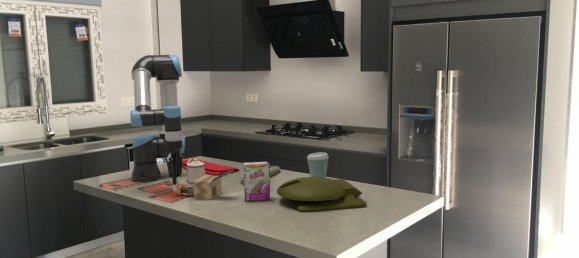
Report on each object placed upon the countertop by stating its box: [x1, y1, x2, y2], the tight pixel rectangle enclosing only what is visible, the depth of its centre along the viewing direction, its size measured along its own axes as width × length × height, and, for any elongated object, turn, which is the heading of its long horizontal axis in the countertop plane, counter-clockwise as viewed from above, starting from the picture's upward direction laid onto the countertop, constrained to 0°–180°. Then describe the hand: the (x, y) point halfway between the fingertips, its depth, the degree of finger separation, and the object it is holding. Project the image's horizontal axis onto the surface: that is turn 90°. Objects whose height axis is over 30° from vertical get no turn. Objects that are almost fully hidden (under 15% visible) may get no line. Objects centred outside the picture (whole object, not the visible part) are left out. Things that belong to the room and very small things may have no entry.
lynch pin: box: [176, 183, 194, 196], centre depth 221 cm, size 13×5×5 cm, turn 75°
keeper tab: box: [212, 170, 234, 181], centre depth 217 cm, size 9×6×1 cm
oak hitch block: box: [192, 174, 223, 201], centre depth 221 cm, size 8×12×8 cm, turn 165°
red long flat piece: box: [182, 158, 240, 176], centre depth 279 cm, size 16×41×4 cm, turn 48°
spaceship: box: [276, 176, 367, 213], centre depth 210 cm, size 35×31×10 cm
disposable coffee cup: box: [306, 151, 329, 178], centre depth 239 cm, size 11×11×15 cm
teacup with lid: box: [185, 158, 206, 184], centre depth 250 cm, size 12×9×12 cm
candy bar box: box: [242, 161, 271, 203], centre depth 213 cm, size 11×5×16 cm, turn 102°
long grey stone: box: [240, 165, 281, 186], centre depth 256 cm, size 35×5×10 cm
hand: (176, 190), depth 223 cm, fingers closed
